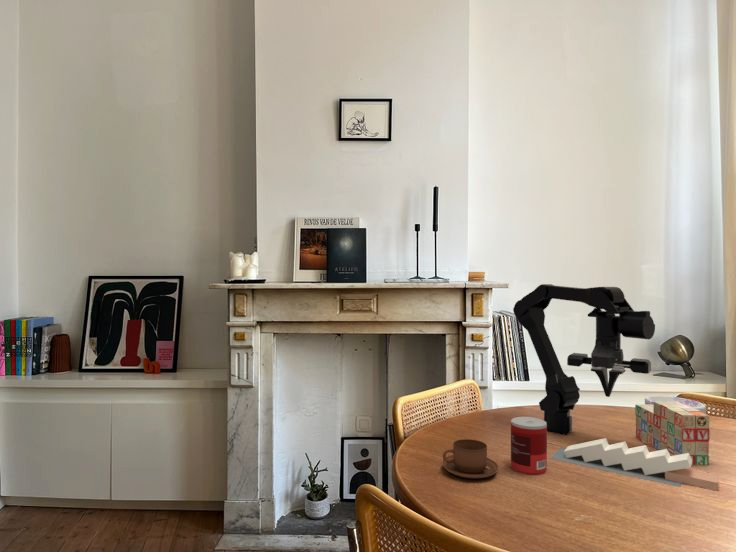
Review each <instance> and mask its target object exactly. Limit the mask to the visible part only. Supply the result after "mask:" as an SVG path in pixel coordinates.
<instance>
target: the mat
mask: <svg viewBox="0 0 736 552" xmlns="http://www.w3.org/2000/svg"><path fill="white" fill-rule="evenodd" d="M566 448H567V447H563V446H561V447H559V448H558V450H557V451H556V452H555V453H553V455H552V456H550V458H549V459H550V460H555V461H559V462H560V461H561V462H564V463H568V464H571V465H572V464H574V465H579V466H582V467H585V468H586V467H587V468H591V469H596V470H600V471H605V472H610V473H615V474H619V475H623V476H627V477H632V478H637V479H642V480H645V481H646V480H647V481H651V482H655V483H659V484H664V485H669V486H673V487H678V488H682V484H683V483H680V482H675V481H671V480H666V479H665V472H661V473H655V474H649V475H645V474H644V472H643V470H642V468H637V469H631V470H625V471H624V469H623V467H622V464H621V463H620V464H614V465H609V466H604V464H603V462H602V460H601V459H599V460H594V461H588V462H584V459H583V457H582V455H580V456H575V457H570V458H566V456H565V454H564V450H565V449H566Z"/></svg>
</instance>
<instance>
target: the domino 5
mask: <svg viewBox="0 0 736 552" xmlns="http://www.w3.org/2000/svg"><path fill="white" fill-rule="evenodd" d="M691 464H692V459H691V457H690V454H689V453H685V454H680V455H674V456H670V459H669V462H668V463H665V464H659V465H654V466H648V467H642V470H643V472H644V474H645V475H649V474H655V473H661V472H667V471H673V470H678V469H684V468H686V469H690V468H691V467H692V465H691Z"/></svg>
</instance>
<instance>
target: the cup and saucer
mask: <svg viewBox="0 0 736 552" xmlns="http://www.w3.org/2000/svg"><path fill="white" fill-rule="evenodd" d="M452 444H453V445H452V447H453V448H448V449H446V450H445V451H444V452H443V454H442V466H443V468H444V469H445V470H446V471H447V472H449V473H450V474H452V475H454V476H457V477H460V478H465V479H466V478H467V479H484V478H485V479H486V478H488V477H491V476H493V475H494V474H495V473H496V472H497V471H498V468H499V466H498V463H497V462H496V461H495V460H492V459H491V458H488V446H487V445H488V444H486V443H485V442H483V441H480V440H478V439H477V440H476V439H469V438H467V439H465V438H463V439H457V440H455V441H454V442H453V443H452ZM448 453H452V454H451V455H449V456H447V454H448Z"/></svg>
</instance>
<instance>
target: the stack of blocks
mask: <svg viewBox="0 0 736 552" xmlns="http://www.w3.org/2000/svg"><path fill="white" fill-rule="evenodd" d="M634 410H635V411H634V412H635V413H634V414H635V438H636V439H637V440H640V441H641V442H642V443H643V444H645V445H646V446H647V447H648V446H649V447H651V448H652V447H653V448H655V449H656V450H657V451H659V450H664V449H667V450H668V452H669V454H670V456H674V455H680V454H685V453H689V454H690V457H691V459H692V464H691V466H699V465H700V466H709V465H710V455H709V453H710V451H709V449H710V448H709V447H710V443H709V442H710V415H708V414H707V413H706V414H704V413H702V412H701V411H699V410H697V409H694V408H691V407H689V406H686V405H684V404H681V403H679V402H654V405H651V404H647V405H645V403H643V404H640V403H638V404H637V403H636V404H635V406H634Z"/></svg>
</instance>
